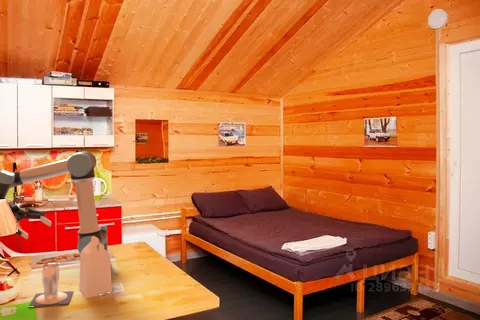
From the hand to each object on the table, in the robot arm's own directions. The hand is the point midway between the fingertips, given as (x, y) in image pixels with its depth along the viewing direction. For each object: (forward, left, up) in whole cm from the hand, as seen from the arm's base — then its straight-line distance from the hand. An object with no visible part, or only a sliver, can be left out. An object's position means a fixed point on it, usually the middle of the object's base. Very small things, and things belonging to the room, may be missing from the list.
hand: (39, 230), depth 203 cm
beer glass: (-8, +20, -27) cm, 34 cm away
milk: (-27, +12, -28) cm, 40 cm away
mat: (-9, +19, -27) cm, 35 cm away
